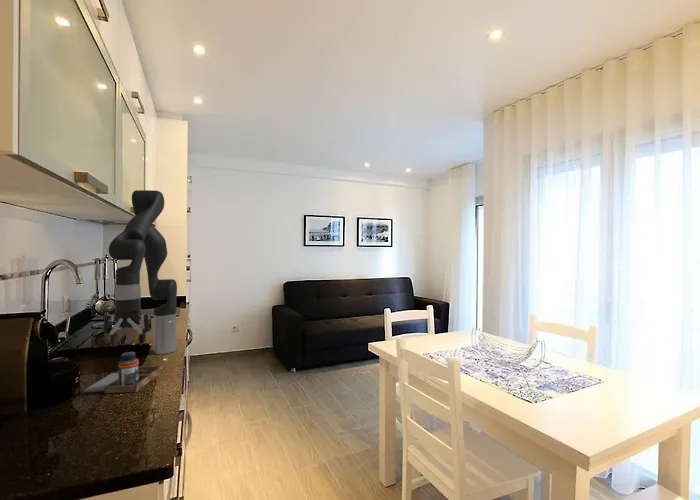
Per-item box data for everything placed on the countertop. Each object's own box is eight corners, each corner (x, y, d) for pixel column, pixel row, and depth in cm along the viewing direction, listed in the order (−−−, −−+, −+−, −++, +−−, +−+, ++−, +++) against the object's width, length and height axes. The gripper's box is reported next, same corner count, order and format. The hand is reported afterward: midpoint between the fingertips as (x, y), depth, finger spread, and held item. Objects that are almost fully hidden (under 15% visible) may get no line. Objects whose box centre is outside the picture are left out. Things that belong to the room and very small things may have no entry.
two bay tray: (136, 372, 133) (135, 366, 133) (162, 371, 134) (162, 365, 134) (104, 393, 114) (104, 387, 114) (136, 391, 114) (136, 385, 114)
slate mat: (112, 374, 131) (112, 373, 131) (129, 374, 131) (129, 372, 131) (83, 392, 115) (83, 390, 115) (103, 391, 115) (103, 389, 115)
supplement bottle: (120, 385, 121) (119, 352, 121) (140, 382, 123) (139, 350, 123) (116, 391, 115) (116, 357, 115) (137, 388, 118) (137, 354, 118)
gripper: (154, 295, 124) (155, 341, 123) (112, 296, 122) (112, 343, 122) (144, 298, 116) (144, 347, 116) (99, 299, 115) (99, 348, 115)
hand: (128, 345), depth 119 cm, fingers open, 8 cm apart
